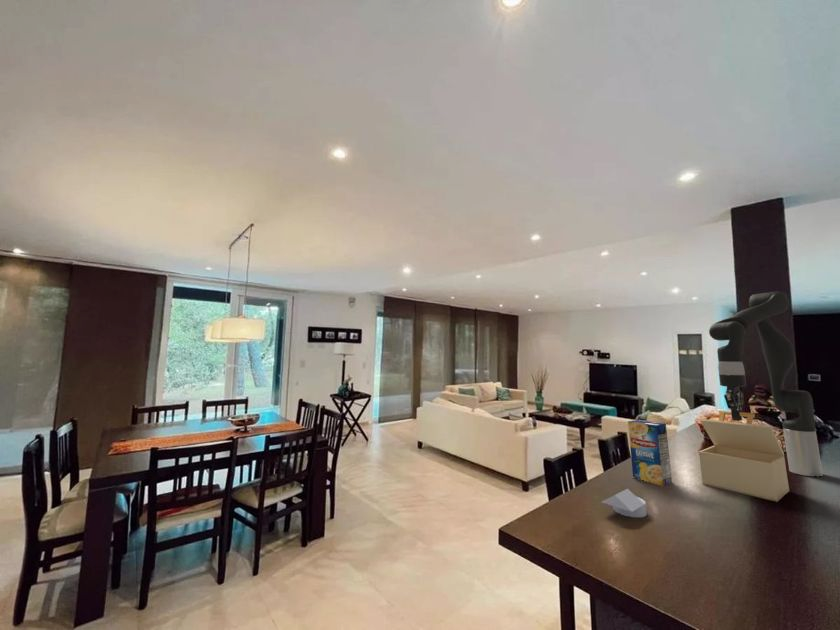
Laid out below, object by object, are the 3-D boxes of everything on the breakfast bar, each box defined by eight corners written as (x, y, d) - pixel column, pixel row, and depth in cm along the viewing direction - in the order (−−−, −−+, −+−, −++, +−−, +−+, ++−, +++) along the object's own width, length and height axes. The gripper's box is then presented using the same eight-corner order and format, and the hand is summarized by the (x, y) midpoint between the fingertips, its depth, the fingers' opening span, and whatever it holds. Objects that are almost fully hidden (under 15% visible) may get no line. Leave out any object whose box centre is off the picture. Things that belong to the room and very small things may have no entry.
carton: (718, 476, 140) (714, 445, 141) (789, 491, 123) (784, 456, 125) (702, 484, 131) (698, 451, 133) (776, 501, 114) (771, 463, 116)
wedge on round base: (633, 524, 101) (651, 512, 108) (630, 499, 102) (649, 489, 109) (601, 513, 108) (621, 503, 115) (599, 490, 109) (619, 481, 116)
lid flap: (714, 445, 141) (717, 431, 144) (784, 455, 125) (785, 440, 128) (699, 420, 136) (702, 407, 139) (770, 428, 120) (772, 412, 123)
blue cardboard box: (663, 486, 130) (656, 425, 133) (632, 478, 139) (627, 421, 142) (672, 482, 133) (666, 423, 136) (642, 475, 143) (637, 419, 146)
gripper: (725, 373, 140) (730, 418, 138) (712, 373, 133) (717, 420, 130) (750, 374, 134) (756, 420, 132) (738, 374, 127) (744, 423, 124)
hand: (737, 420), depth 131 cm, fingers closed
